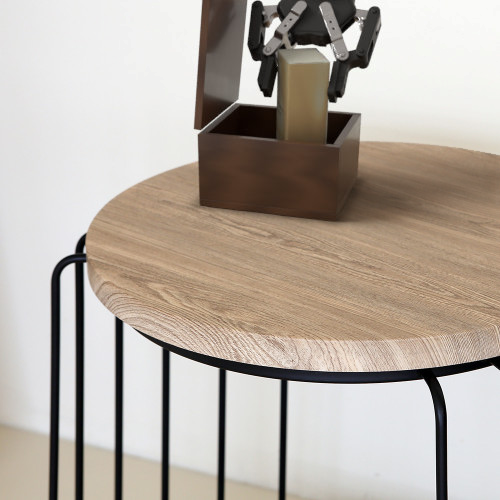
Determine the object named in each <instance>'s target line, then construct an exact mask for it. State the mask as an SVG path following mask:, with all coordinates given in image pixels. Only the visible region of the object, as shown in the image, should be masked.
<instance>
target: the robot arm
mask: <svg viewBox="0 0 500 500" xmlns="http://www.w3.org/2000/svg"><path fill="white" fill-rule="evenodd" d="M250 6H251V8H250V17H249V24H248V34H247V44H246V45H247V48H248V52H249V54H250V56H251V59H252V61H253V62H260V66H259V69H258V74H257V78H256V81H257V86H258V89H259V91H260V92H262V93H261V94H262V95H263V97H264V98H272V97H273V92H274V89H275V84H276V81H277V64H278V49H296V48H297V46H302V47H303V46H311V45H312V46H316V47H322V48H327V46H328V45H329V47H330V50H331V53H332V55H333V57H334V59H335V60H332V68H331V70H330V77H329V86H328V93H327V94H328V104H329V103H332V104H337V102H338V99H342V98H343V96H344V95H345V93H346V88H347V83H348V77H349V73H350V71H351V70H353V69H357V68H359V69H361V70H365V69H367V68H368V67H369V66H370V63H371V59H372V57H373V54H374V50H375V47H376V44H377V41H378V38H379V34H380V32H381V29H382V15H381V8H380V7H379V6H376V5H373V6H371V7H369V8H368V9H360V8H357V6H356V0H279V1H278V3H277V4H272V5H271V4H270V5H269V4H268V5H264V3H263V2H262V1H261V0H254V1H253V2H252V3H251V5H250ZM277 18H278V19H279V21H280V24H279V25H278V26H277V27H276V28H275V30H274V32H273V35H272V37H271V38H270V39H269V41H267V43H266V44H265V41H266V40H265V39H266V31H267V29H269V28H270V27H271V25H272V24H273V21H274V20H275V19H277ZM355 23H358V29H359V31H360V35H359V37H358V41H357V44H356V47H355V49H352V50H348V47H347V44H346V42H345V39H344V36H343V34H344V33H345V32H346V31H348V29H350V28H351V27H352V26H353V25H354V24H355Z"/></svg>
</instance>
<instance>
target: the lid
mask: <svg viewBox="0 0 500 500" xmlns="http://www.w3.org/2000/svg"><path fill="white" fill-rule="evenodd" d="M247 10H248V0H201V10H200V11H201V13H200V28H199V44H198V57H197V58H198V59H197V70H196V71H197V73H196V86H195V87H196V89H195V102H194V103H195V104H194V119H193V130H197V131H202V130H203V129H205V128H206V127H207V126H208V125H209V124H211V123H212V122H213V121H214V120H215V119H217V118H218V117H219V116H220V115H221V114H223V113H224V112H225V111H226V110H228V109H229V108H230V107H231V106H232V105H234V104H235V103H237V101H238V100H239V97H240V87H241V76H242V66H243V65H242V64H243V56H244V55H243V53H244V43H245V31H246V20H247V12H248V11H247Z"/></svg>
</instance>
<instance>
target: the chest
mask: <svg viewBox="0 0 500 500" xmlns="http://www.w3.org/2000/svg"><path fill="white" fill-rule="evenodd" d="M361 125H362V113H361V112H353V111H352V112H351V111H340V110H339V111H337V110H328V119H327V140H326V144H322V143H311V142H300V141H289V140H279V139H276V126H277V105H265V104H255V103H253V104H252V103H241V102H235V103H233V104H232V105H231V106H230V107H229V108H227V109H226V110H225V111H224V112H223V113H221V114H220V115H219V116H218V117H216V118H215V119H214V120H213V121H212V122H210V123H209V124H208V125H207V126H206V127H204V128H203V129H202V130H200V132H198V133H197V163H198V167H197V168H198V197H199V199H198V200H199V206H202V207H210V208H220V209H228V210H236V211H242V212H243V211H245V212H252V213H253V212H254V213H262V214H270V215H276V216H277V215H278V216H287V217H295V218H303V219H312V220H319V221H328V222H336V221H337V219H338V218H339V216H340V214H341V213H342V210H343V208H344V206H345V204H346V202H347V200H348V198H349V197H350V194H351V193H352V190H353V188H354V186H355V185H356V183H357V181H358V174H359V158H360V145H361V144H360V143H361V142H360V141H361V128H362V127H361Z"/></svg>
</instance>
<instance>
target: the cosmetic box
mask: <svg viewBox="0 0 500 500" xmlns="http://www.w3.org/2000/svg"><path fill="white" fill-rule="evenodd" d="M330 76H331V61H330V60H329V59H328V58H327V56H325V55H324V54H323V53H322V52H321V51H320V50H319V49H318V48H317V47H303V48H302V47H301V48H300V47H298V48H294V49H278V64H277V75H276V106H277V126H276V139H279V140H289V141H300V142H311V143H322V144H326V140H327V119H328V111H329V100H328V94H327V93H328V86H329V81H330Z"/></svg>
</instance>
